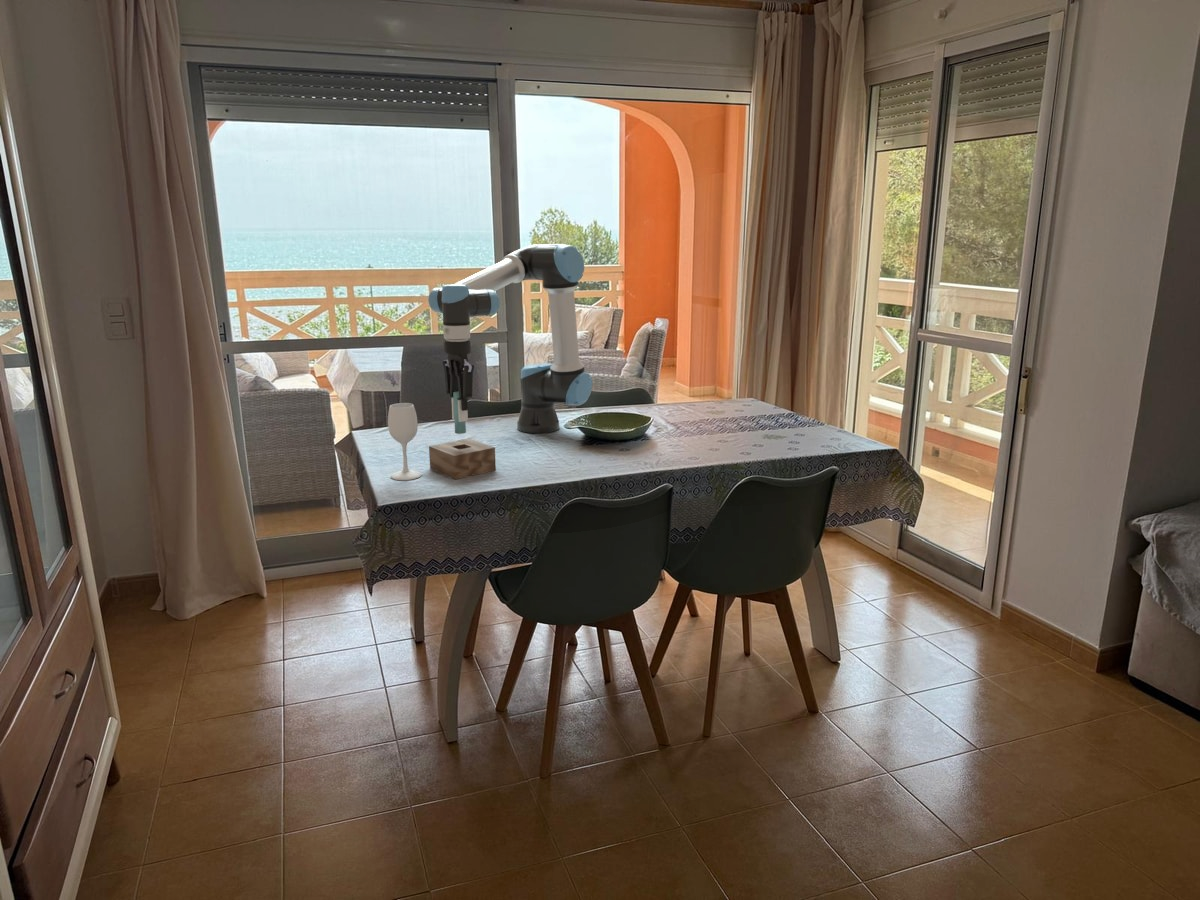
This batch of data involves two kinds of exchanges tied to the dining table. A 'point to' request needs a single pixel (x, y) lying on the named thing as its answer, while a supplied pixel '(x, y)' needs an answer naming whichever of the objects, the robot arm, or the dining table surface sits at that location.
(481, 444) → the socket block
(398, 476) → the wineglass
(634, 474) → the dining table surface
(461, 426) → the dowel
